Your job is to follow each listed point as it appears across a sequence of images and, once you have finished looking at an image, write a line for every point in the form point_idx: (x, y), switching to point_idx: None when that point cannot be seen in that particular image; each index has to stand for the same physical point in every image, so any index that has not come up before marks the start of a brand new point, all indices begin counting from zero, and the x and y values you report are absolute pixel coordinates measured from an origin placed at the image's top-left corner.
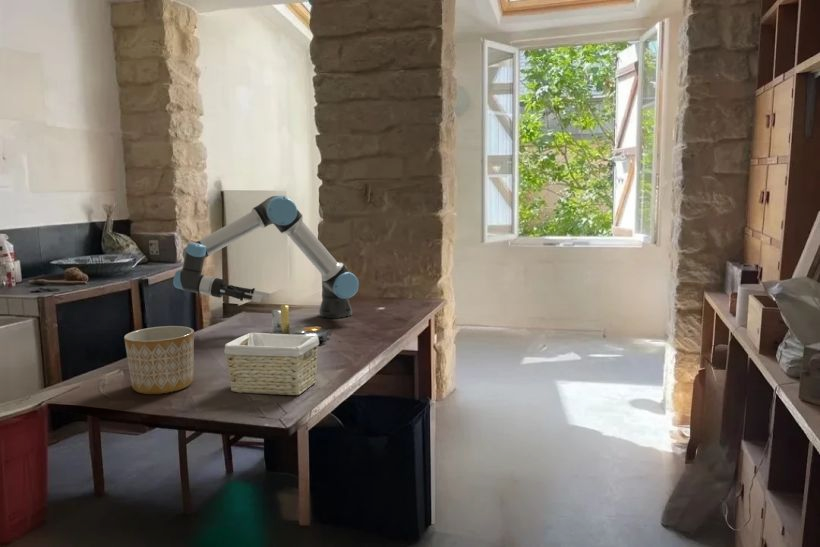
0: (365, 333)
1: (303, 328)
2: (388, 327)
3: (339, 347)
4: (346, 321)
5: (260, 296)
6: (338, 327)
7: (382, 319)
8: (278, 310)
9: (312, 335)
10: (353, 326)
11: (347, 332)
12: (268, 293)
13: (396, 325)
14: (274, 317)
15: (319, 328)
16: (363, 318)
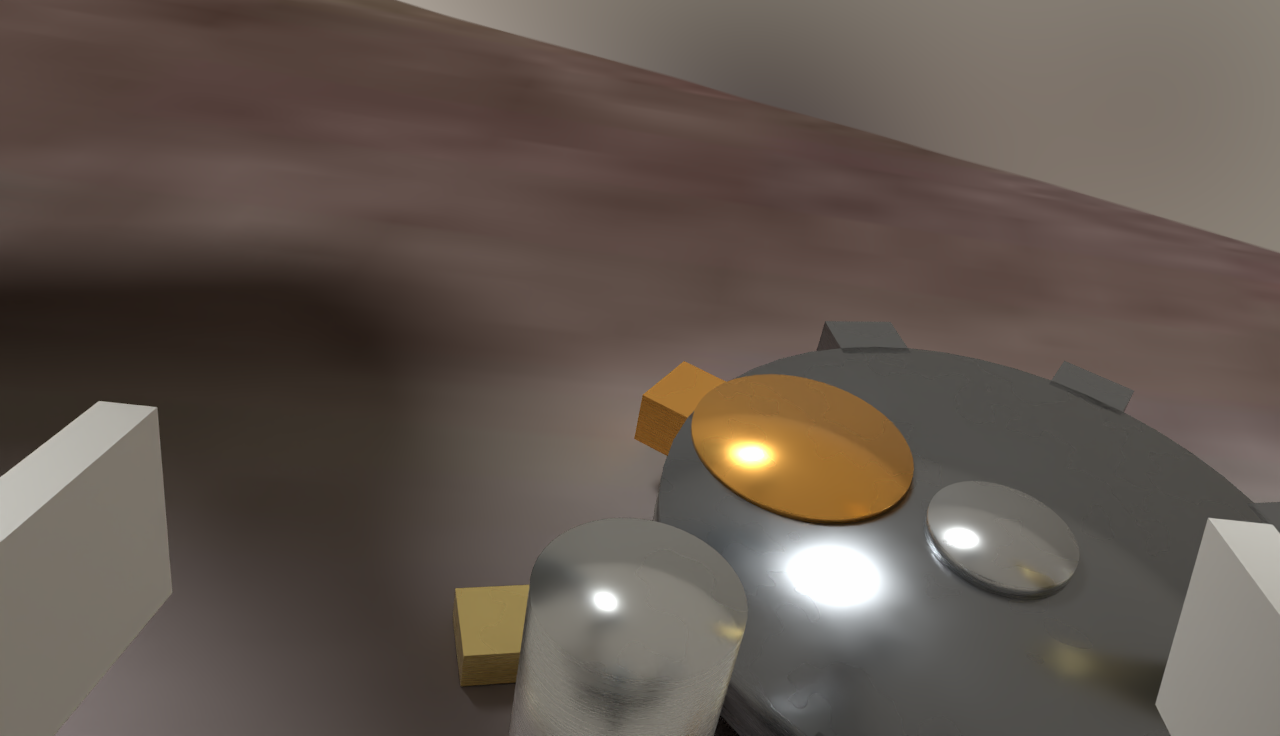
0: (666, 202)
1: (778, 500)
2: (488, 92)
3: (1165, 381)
4: (74, 212)
5: (1274, 552)
6: (348, 291)
7: (161, 59)
8: (628, 566)
9: (1112, 458)
10: (355, 211)
11: (602, 273)
12: (141, 426)
13: (435, 58)
14: (715, 723)
15: (789, 376)
16: (20, 117)
